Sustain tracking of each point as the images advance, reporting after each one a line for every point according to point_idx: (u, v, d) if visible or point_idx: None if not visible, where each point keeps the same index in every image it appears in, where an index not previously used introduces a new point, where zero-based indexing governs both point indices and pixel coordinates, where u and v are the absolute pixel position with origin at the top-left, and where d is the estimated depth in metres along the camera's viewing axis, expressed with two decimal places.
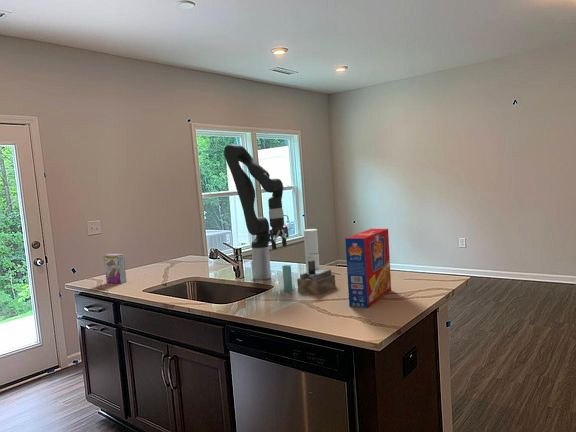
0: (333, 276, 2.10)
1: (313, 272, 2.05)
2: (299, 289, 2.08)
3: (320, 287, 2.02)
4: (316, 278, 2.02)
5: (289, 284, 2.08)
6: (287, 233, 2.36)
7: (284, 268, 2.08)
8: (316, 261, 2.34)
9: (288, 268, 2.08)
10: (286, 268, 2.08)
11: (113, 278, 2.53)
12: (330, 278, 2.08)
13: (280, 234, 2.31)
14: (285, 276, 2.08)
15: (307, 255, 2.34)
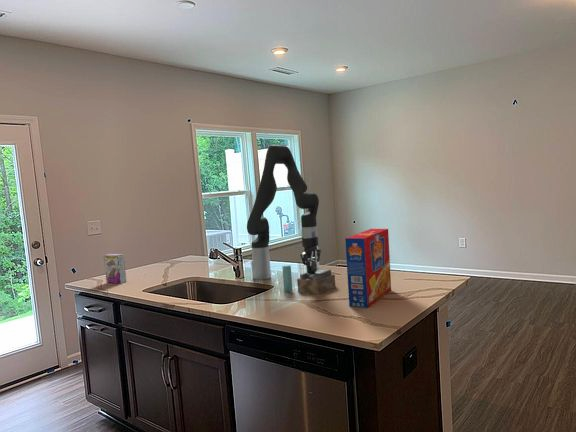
0: (333, 276, 2.10)
1: (313, 272, 2.05)
2: (299, 289, 2.08)
3: (320, 287, 2.02)
4: (316, 278, 2.02)
5: (289, 284, 2.08)
6: (318, 257, 2.09)
7: (284, 268, 2.08)
8: None
9: (288, 268, 2.08)
10: (286, 268, 2.08)
11: (113, 278, 2.53)
12: (330, 278, 2.08)
13: None
14: (285, 276, 2.08)
15: None
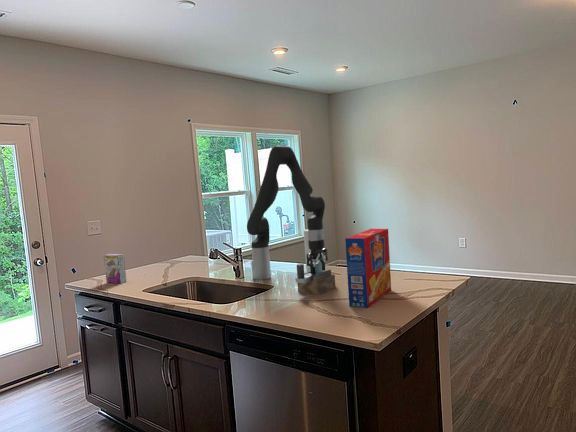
0: (333, 276, 2.10)
1: (302, 276, 1.98)
2: (299, 289, 2.08)
3: (320, 287, 2.02)
4: (316, 278, 2.02)
5: None
6: (326, 256, 2.15)
7: (315, 265, 2.09)
8: None
9: (319, 265, 2.09)
10: (317, 265, 2.09)
11: (113, 278, 2.53)
12: (330, 278, 2.08)
13: (319, 257, 2.10)
14: (316, 273, 2.09)
15: None
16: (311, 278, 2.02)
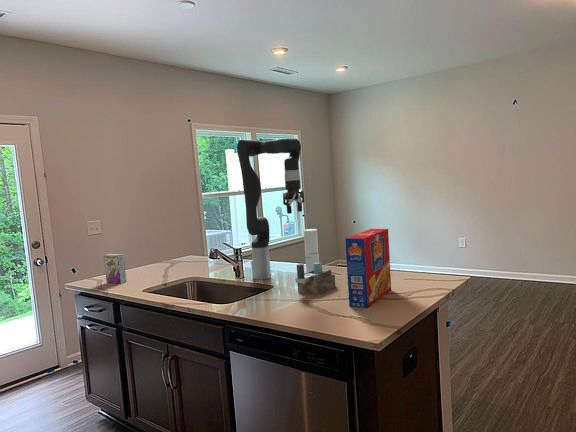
0: (333, 276, 2.10)
1: (302, 276, 1.98)
2: (299, 289, 2.08)
3: (320, 287, 2.02)
4: (316, 278, 2.02)
5: None
6: (303, 198, 2.22)
7: (315, 265, 2.09)
8: (316, 261, 2.34)
9: (319, 265, 2.09)
10: (317, 265, 2.09)
11: (113, 278, 2.53)
12: (330, 278, 2.08)
13: (296, 198, 2.17)
14: (316, 273, 2.09)
15: (307, 255, 2.34)
16: (311, 278, 2.02)
